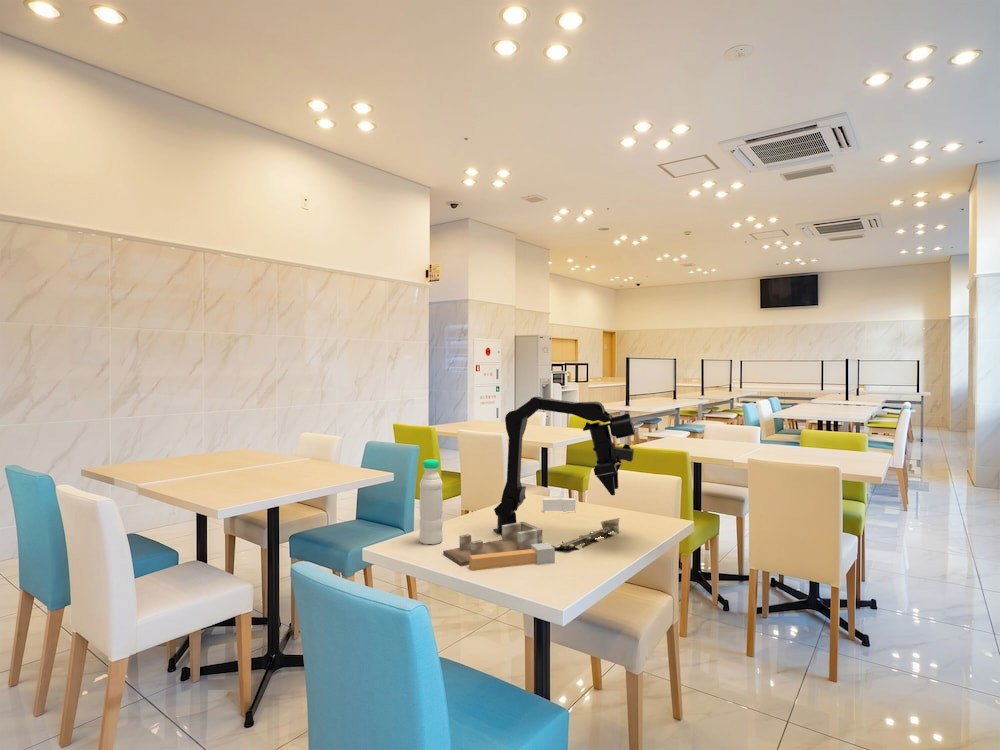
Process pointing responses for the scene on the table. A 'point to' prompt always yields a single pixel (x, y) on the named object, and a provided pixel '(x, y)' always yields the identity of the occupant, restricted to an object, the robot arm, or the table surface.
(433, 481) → the water bottle
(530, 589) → the table surface
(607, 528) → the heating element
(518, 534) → the cable board
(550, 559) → the tan bar grey block
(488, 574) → the table surface
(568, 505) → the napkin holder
